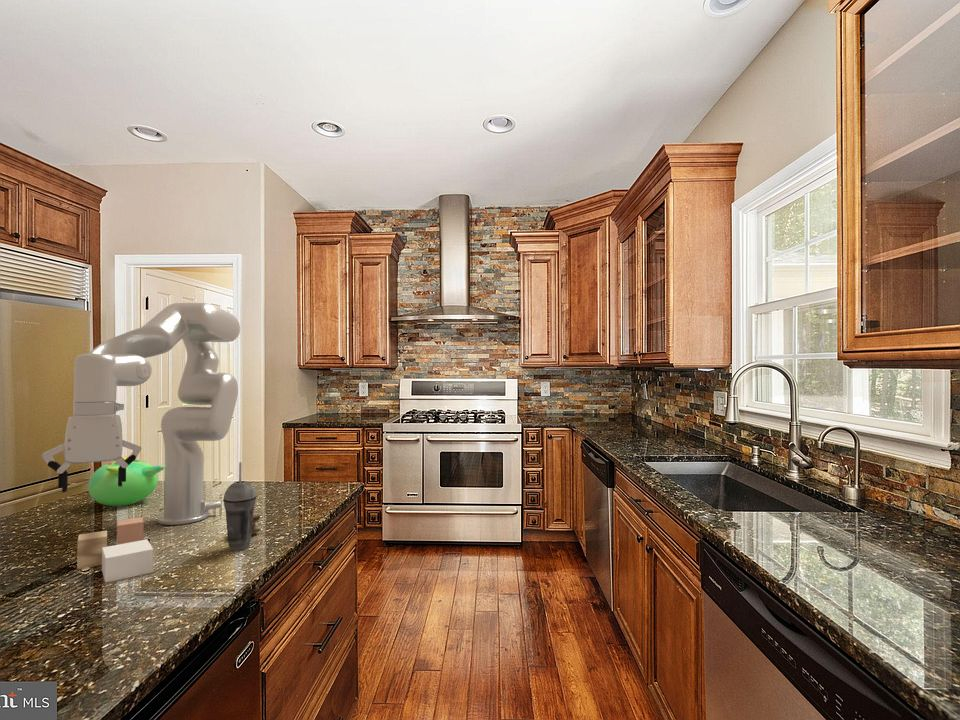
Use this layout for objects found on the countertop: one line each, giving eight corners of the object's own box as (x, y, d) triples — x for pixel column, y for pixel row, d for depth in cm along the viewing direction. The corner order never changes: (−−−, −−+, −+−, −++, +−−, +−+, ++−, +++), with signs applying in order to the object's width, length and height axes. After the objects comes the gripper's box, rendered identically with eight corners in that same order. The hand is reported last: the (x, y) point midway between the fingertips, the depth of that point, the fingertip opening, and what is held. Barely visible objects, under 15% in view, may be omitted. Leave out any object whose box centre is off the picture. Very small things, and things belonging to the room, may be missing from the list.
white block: (146, 562, 111) (147, 539, 111) (152, 573, 105) (153, 549, 105) (101, 571, 106) (102, 547, 106) (105, 583, 100) (105, 558, 100)
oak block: (106, 557, 114) (107, 530, 114) (106, 564, 110) (107, 536, 110) (78, 562, 111) (78, 534, 111) (77, 569, 107) (77, 540, 107)
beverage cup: (222, 554, 115) (223, 466, 116) (222, 544, 122) (223, 461, 122) (257, 549, 119) (258, 464, 119) (255, 540, 125) (256, 459, 126)
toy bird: (145, 495, 170) (146, 451, 170) (168, 503, 160) (168, 456, 160) (79, 506, 155) (81, 458, 156) (100, 516, 146) (101, 464, 146)
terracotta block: (141, 541, 124) (142, 517, 124) (143, 547, 120) (143, 521, 120) (116, 545, 121) (117, 520, 121) (117, 551, 117) (117, 525, 117)
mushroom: (272, 520, 131) (257, 501, 131) (248, 541, 124) (232, 521, 124) (258, 530, 135) (243, 511, 135) (234, 550, 128) (219, 531, 128)
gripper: (141, 407, 119) (139, 480, 119) (45, 410, 109) (42, 490, 108) (143, 409, 113) (141, 486, 113) (41, 412, 103) (38, 497, 102)
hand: (93, 488), depth 110 cm, fingers open, 9 cm apart
